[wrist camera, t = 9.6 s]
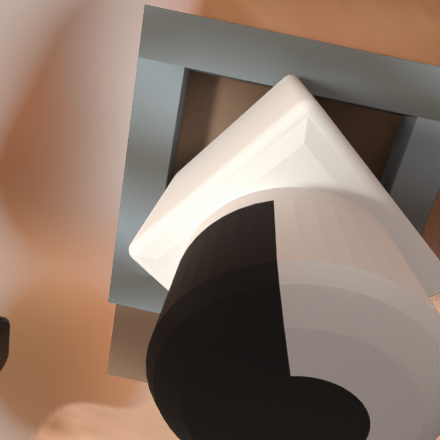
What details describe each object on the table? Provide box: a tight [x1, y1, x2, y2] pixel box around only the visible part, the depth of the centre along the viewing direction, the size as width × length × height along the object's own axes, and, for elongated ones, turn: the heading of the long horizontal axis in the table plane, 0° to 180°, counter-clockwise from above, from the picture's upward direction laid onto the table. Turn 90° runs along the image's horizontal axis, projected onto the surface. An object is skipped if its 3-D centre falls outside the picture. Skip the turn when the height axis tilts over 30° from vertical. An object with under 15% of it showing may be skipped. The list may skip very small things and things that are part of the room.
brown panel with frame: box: [107, 5, 440, 383], centre depth 19 cm, size 20×14×2 cm
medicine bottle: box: [129, 75, 440, 440], centre depth 12 cm, size 7×7×12 cm
